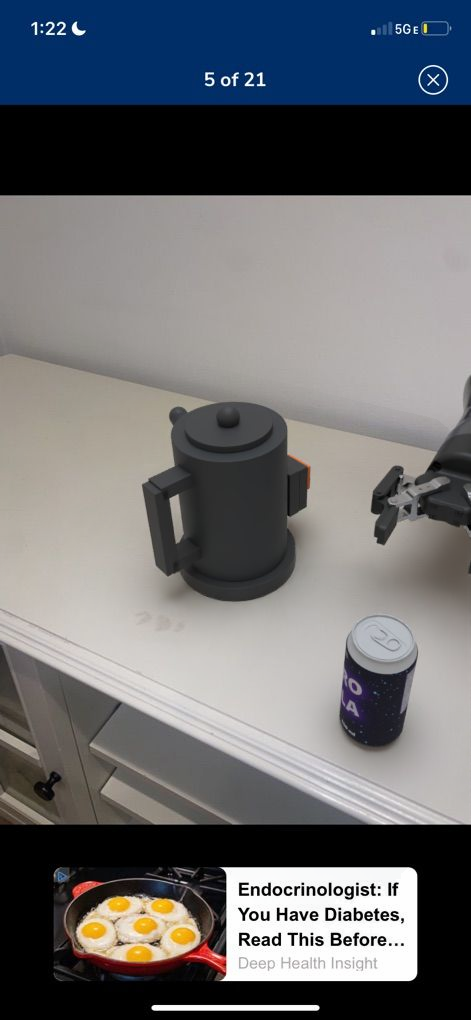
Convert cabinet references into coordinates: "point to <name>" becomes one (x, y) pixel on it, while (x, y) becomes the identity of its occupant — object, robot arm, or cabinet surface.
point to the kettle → (228, 501)
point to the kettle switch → (308, 471)
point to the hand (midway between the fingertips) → (425, 552)
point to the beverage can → (377, 679)
